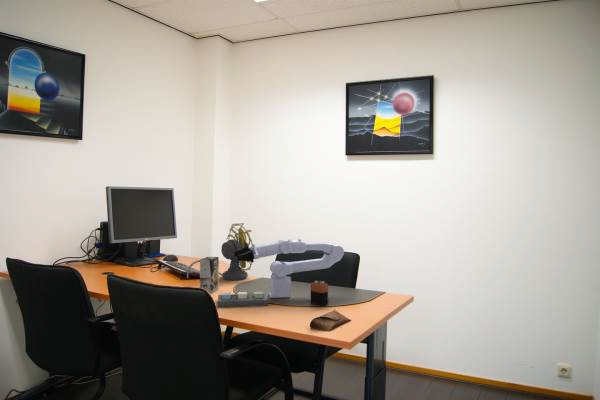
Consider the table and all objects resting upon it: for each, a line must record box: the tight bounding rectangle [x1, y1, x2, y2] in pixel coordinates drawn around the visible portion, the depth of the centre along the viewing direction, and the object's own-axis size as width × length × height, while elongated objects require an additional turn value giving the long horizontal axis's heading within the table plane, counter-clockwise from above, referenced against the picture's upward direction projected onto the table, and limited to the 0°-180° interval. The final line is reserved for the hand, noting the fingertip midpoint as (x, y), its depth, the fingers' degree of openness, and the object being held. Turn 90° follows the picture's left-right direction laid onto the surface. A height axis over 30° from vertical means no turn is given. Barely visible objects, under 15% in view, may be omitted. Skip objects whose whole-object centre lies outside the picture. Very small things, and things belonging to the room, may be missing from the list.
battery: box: [310, 280, 329, 307], centre depth 212 cm, size 4×7×10 cm, turn 47°
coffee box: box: [199, 256, 220, 294], centre depth 235 cm, size 9×6×16 cm
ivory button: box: [237, 291, 248, 299], centre depth 213 cm, size 4×4×3 cm
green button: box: [253, 291, 264, 298], centre depth 214 cm, size 4×4×3 cm
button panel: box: [217, 292, 269, 308], centre depth 213 cm, size 21×12×2 cm, turn 99°
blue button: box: [221, 292, 232, 299], centre depth 212 cm, size 4×4×3 cm
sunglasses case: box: [309, 309, 352, 333], centre depth 182 cm, size 18×7×7 cm
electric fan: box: [186, 222, 254, 281], centre depth 263 cm, size 26×32×30 cm
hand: (235, 256), depth 220 cm, fingers open, 7 cm apart
